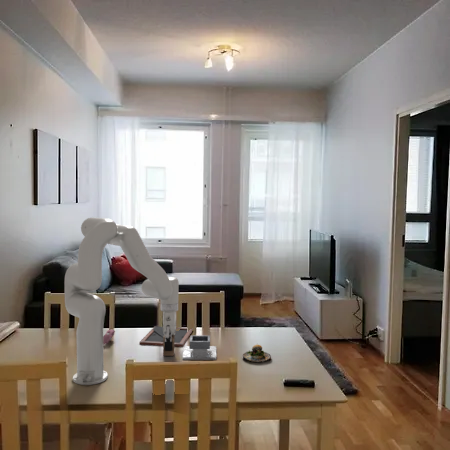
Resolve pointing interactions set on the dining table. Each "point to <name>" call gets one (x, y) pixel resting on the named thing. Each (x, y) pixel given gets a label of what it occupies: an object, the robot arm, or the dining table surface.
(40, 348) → the dining table surface
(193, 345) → the cup bracket
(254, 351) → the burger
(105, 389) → the dining table surface
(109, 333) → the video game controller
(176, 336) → the picture frame
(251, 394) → the dining table surface
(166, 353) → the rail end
